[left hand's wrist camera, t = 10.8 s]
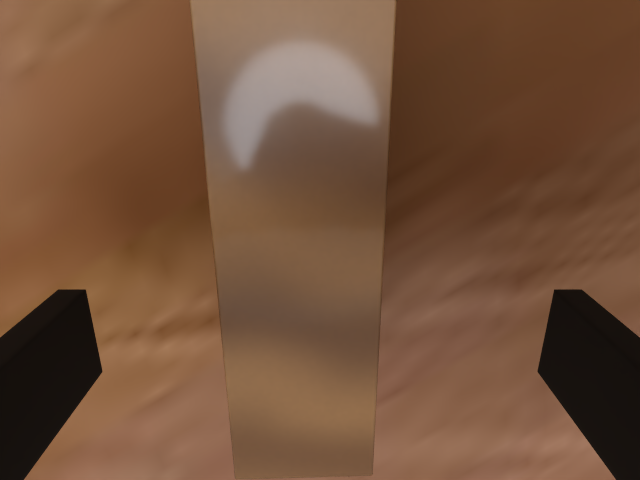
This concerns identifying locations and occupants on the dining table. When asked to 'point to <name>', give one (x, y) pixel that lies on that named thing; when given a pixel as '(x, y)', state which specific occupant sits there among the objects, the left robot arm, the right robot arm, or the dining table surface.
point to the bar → (297, 222)
